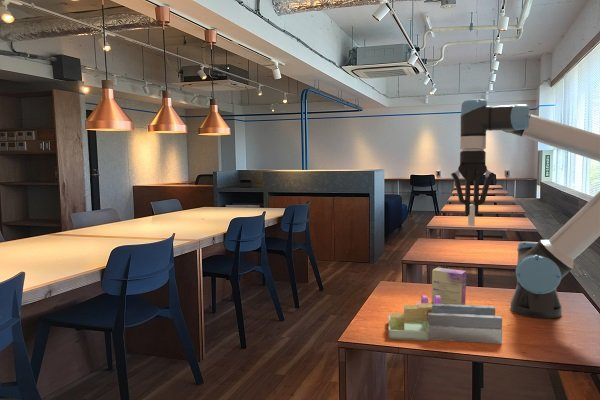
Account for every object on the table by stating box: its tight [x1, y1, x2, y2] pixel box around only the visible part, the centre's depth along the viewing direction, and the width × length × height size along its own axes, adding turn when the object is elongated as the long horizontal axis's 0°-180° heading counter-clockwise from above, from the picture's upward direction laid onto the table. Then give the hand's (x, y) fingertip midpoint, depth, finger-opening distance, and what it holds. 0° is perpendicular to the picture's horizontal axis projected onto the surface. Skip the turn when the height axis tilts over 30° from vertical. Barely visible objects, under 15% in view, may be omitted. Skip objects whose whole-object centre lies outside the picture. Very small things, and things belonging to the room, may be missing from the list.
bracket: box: [415, 295, 441, 305], centre depth 160 cm, size 13×6×7 cm, turn 179°
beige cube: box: [416, 302, 433, 321], centre depth 142 cm, size 4×4×4 cm
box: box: [431, 267, 467, 305], centre depth 169 cm, size 10×6×12 cm, turn 58°
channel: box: [426, 303, 503, 345], centre depth 140 cm, size 20×12×7 cm, turn 80°
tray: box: [388, 313, 430, 342], centre depth 143 cm, size 11×14×2 cm
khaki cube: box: [390, 312, 404, 330], centre depth 144 cm, size 4×4×4 cm
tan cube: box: [403, 304, 419, 323], centre depth 143 cm, size 4×4×4 cm
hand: (471, 225), depth 154 cm, fingers closed
